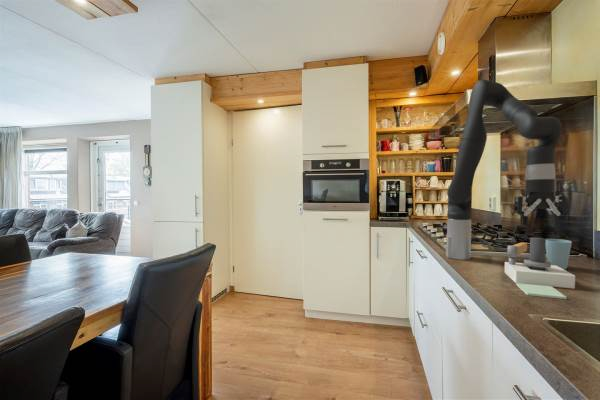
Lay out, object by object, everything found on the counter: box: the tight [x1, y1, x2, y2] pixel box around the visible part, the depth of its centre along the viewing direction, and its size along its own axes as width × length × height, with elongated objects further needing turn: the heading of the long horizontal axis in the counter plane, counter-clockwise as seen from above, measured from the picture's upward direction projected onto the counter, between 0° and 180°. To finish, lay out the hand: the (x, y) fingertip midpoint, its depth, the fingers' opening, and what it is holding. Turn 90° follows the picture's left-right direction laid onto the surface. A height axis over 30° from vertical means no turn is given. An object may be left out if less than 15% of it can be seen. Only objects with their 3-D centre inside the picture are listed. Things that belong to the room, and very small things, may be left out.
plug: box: [523, 237, 551, 271], centre depth 96 cm, size 7×7×14 cm
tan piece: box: [506, 241, 528, 258], centre depth 105 cm, size 14×3×4 cm, turn 127°
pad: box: [515, 283, 568, 300], centre depth 86 cm, size 9×9×1 cm
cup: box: [545, 238, 573, 270], centre depth 110 cm, size 8×8×10 cm
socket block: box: [504, 257, 576, 290], centre depth 96 cm, size 15×12×6 cm
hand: (539, 227), depth 95 cm, fingers open, 8 cm apart
